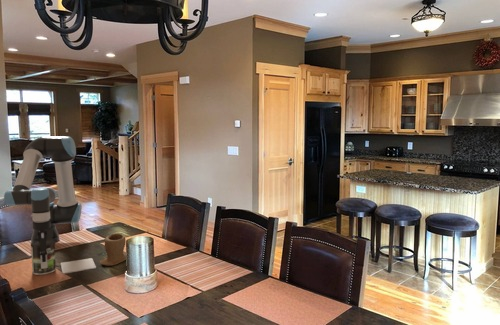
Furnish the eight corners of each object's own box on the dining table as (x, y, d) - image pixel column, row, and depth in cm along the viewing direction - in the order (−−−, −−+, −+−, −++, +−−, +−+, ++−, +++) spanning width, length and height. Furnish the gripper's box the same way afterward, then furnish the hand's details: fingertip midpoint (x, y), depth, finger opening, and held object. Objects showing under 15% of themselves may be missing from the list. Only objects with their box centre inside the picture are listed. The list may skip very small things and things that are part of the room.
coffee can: (60, 270, 192) (58, 242, 191) (38, 276, 184) (36, 247, 182) (49, 265, 198) (48, 238, 197) (28, 271, 190) (26, 243, 189)
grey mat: (60, 263, 200) (60, 263, 200) (92, 258, 208) (92, 258, 207) (62, 273, 187) (62, 272, 187) (96, 268, 194) (96, 267, 194)
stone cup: (113, 269, 193) (112, 239, 192) (96, 265, 199) (95, 236, 197) (136, 260, 206) (135, 232, 205) (120, 256, 212) (119, 228, 210)
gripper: (32, 215, 197) (34, 256, 200) (32, 227, 176) (35, 273, 178) (49, 214, 201) (51, 254, 203) (51, 225, 179) (53, 270, 182)
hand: (43, 263), depth 191 cm, fingers open, 13 cm apart
